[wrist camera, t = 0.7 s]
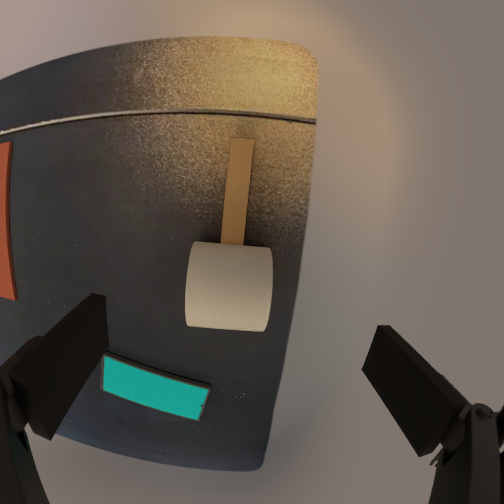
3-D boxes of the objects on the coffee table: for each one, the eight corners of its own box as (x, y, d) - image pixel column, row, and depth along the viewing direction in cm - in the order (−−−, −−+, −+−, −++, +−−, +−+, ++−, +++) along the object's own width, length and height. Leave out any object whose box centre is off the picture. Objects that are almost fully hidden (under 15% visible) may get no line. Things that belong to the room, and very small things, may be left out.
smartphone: (101, 353, 31) (211, 388, 33) (103, 349, 32) (211, 384, 34) (100, 390, 32) (198, 422, 34) (102, 386, 33) (199, 418, 35)
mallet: (207, 138, 27) (198, 122, 19) (276, 145, 27) (292, 132, 20) (195, 304, 31) (184, 341, 23) (257, 309, 32) (264, 347, 24)
